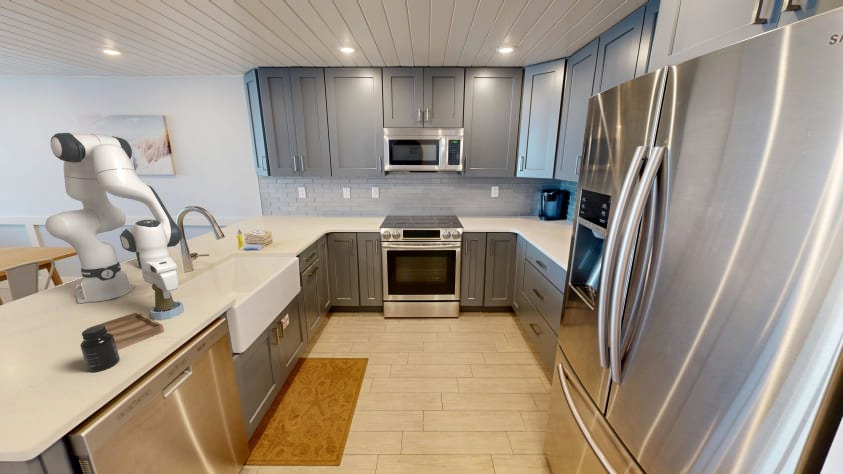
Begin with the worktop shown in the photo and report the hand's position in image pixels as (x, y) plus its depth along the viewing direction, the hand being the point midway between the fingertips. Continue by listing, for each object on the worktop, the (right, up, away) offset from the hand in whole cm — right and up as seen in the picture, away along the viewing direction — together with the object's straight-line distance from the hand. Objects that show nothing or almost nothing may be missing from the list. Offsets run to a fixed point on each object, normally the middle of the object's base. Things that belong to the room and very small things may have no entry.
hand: (162, 296), depth 120 cm
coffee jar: (-54, +6, +54) cm, 77 cm away
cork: (0, -5, +1) cm, 5 cm away
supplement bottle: (+6, -15, -28) cm, 33 cm away
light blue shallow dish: (+1, -7, +2) cm, 8 cm away
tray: (-3, -11, -12) cm, 16 cm away
